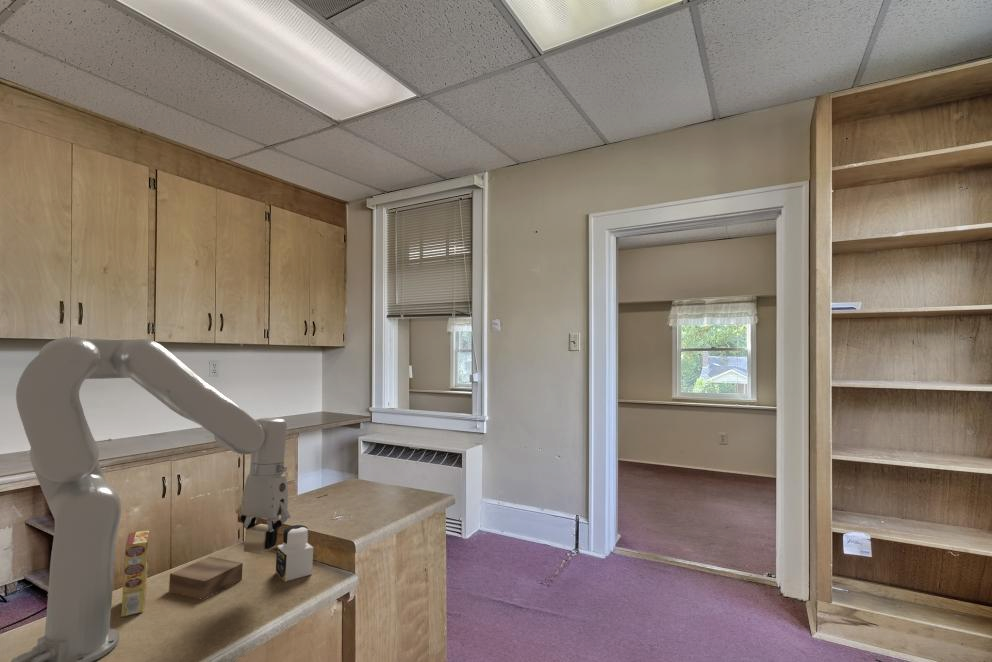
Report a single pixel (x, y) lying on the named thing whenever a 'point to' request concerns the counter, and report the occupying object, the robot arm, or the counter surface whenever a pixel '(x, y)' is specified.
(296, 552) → the medicine bottle
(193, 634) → the counter surface
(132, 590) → the candy box
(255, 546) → the maple cube
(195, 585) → the walnut block
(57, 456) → the robot arm
